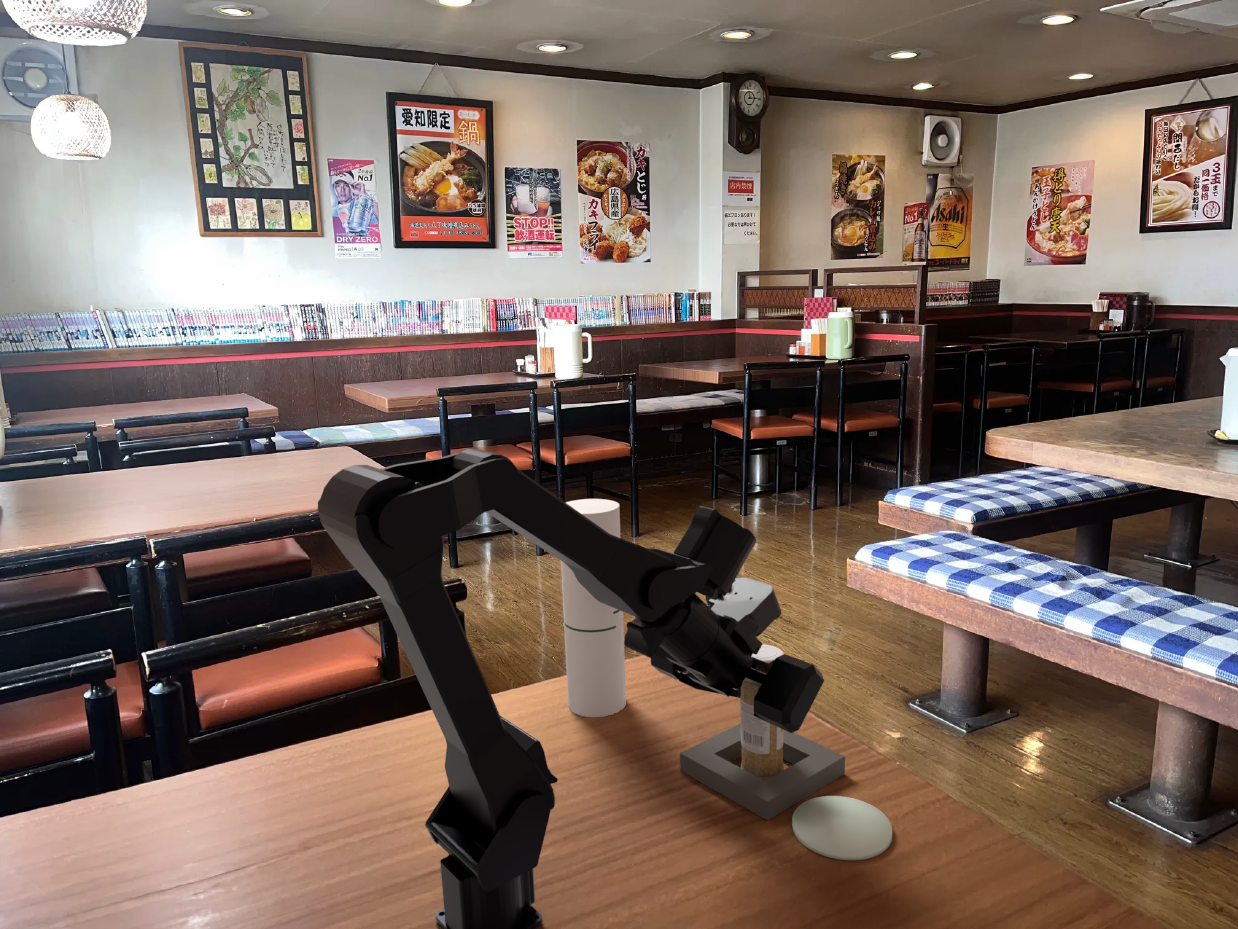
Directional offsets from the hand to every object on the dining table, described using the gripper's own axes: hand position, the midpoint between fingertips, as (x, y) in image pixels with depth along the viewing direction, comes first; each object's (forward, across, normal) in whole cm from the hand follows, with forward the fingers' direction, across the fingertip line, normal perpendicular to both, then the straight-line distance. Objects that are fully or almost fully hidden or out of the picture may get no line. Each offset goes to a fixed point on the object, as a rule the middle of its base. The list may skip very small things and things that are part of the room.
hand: (770, 704), depth 91 cm
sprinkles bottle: (+4, 0, +6) cm, 7 cm away
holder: (+4, 0, +6) cm, 7 cm away
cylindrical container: (+2, +24, +8) cm, 25 cm away
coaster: (+3, -12, +7) cm, 14 cm away
